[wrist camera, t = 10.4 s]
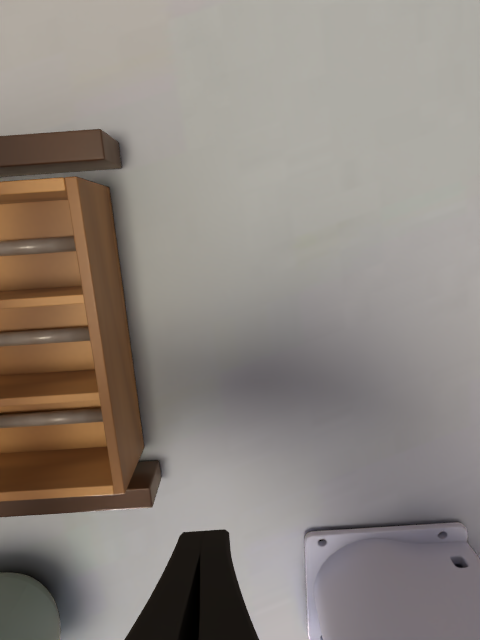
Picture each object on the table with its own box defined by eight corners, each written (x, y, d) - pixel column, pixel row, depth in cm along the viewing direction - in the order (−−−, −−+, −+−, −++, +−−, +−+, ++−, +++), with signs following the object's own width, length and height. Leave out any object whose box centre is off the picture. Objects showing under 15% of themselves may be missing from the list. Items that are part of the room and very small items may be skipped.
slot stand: (118, 141, 18) (100, 128, 16) (161, 478, 23) (152, 508, 20) (-117, 158, 19) (-171, 147, 16) (-32, 490, 23) (-64, 522, 20)
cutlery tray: (109, 186, 19) (76, 176, 15) (144, 447, 22) (124, 494, 18) (-76, 199, 19) (-156, 192, 15) (-14, 457, 22) (-68, 506, 18)
